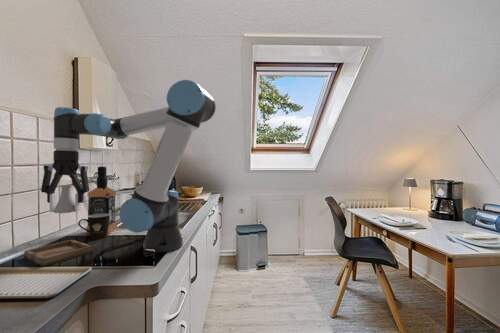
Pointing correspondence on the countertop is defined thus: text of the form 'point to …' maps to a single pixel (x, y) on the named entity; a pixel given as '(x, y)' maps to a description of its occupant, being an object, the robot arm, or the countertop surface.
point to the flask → (65, 201)
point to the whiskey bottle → (102, 200)
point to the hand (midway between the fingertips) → (65, 211)
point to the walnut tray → (57, 252)
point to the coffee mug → (97, 225)
